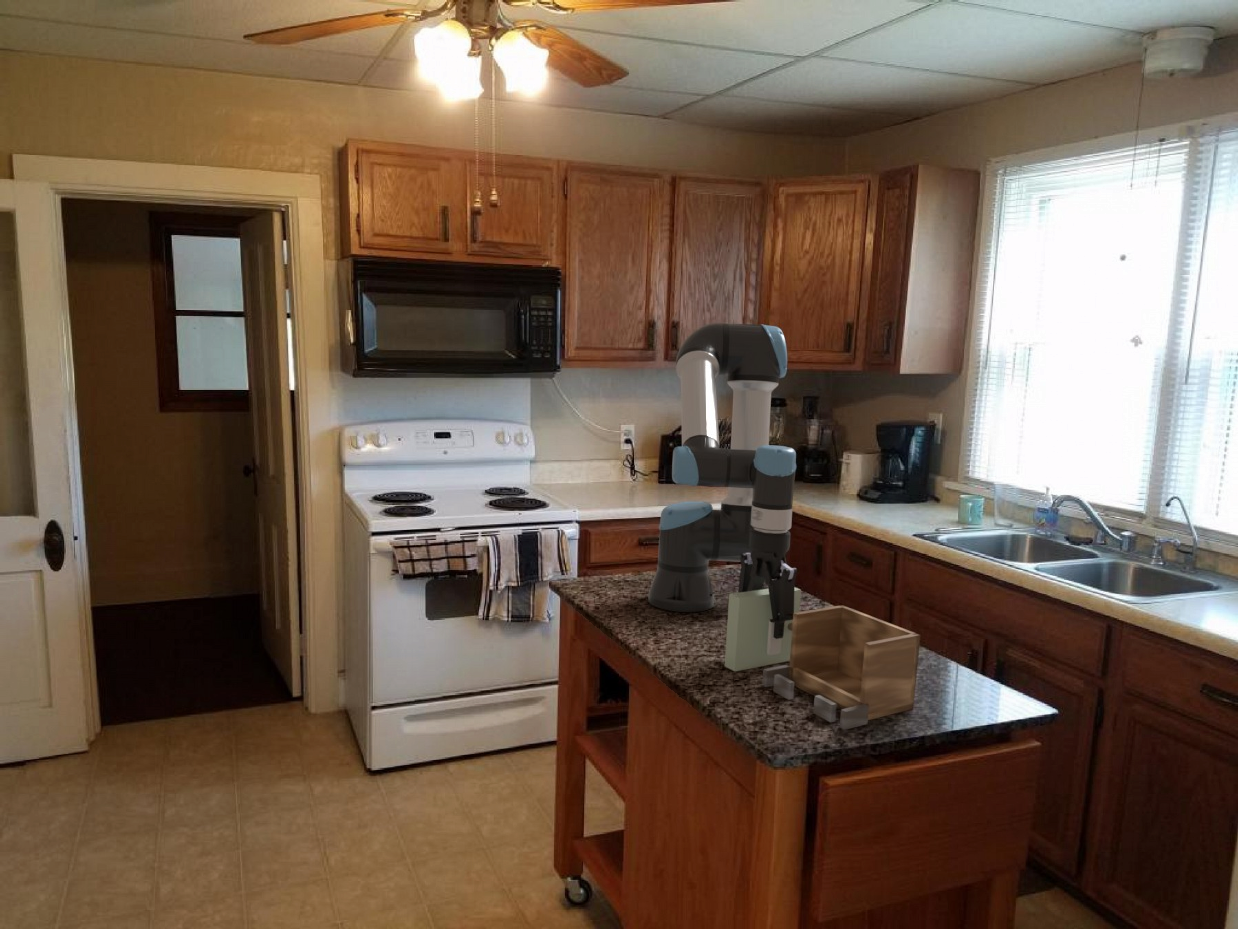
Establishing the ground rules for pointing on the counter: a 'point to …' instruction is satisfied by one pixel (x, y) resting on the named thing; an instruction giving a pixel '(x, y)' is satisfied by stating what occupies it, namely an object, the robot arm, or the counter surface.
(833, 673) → the carcass
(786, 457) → the robot arm
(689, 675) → the counter surface
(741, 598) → the door
